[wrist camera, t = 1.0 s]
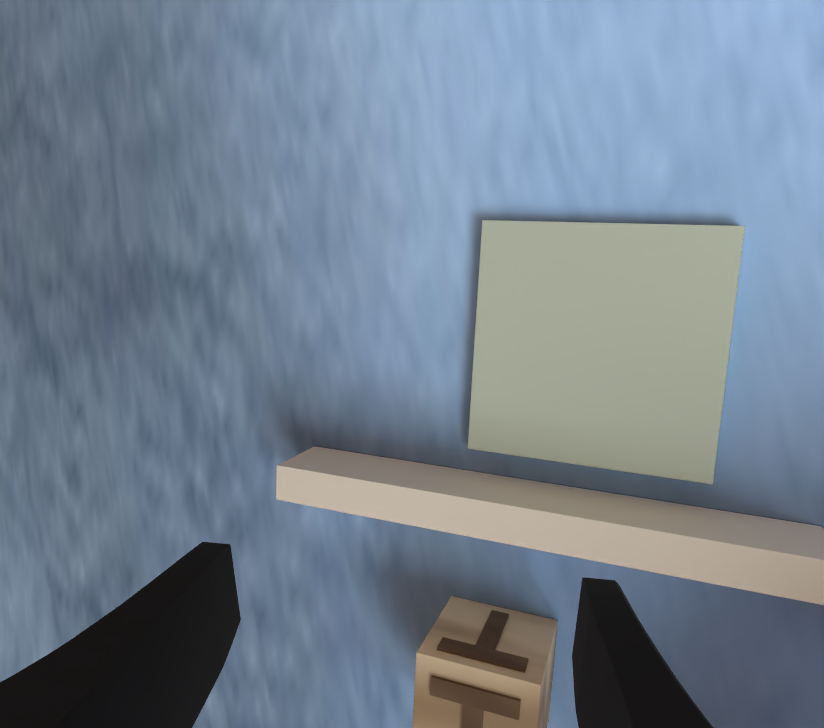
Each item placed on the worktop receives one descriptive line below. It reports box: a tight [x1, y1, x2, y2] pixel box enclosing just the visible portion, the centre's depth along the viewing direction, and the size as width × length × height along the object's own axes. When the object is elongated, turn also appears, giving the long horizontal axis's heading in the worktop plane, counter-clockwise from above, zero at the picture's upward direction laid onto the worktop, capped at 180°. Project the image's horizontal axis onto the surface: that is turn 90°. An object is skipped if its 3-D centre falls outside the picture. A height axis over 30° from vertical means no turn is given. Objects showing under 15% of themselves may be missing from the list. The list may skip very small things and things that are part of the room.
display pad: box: [468, 220, 745, 484], centre depth 26 cm, size 10×10×1 cm
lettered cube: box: [413, 596, 558, 728], centre depth 28 cm, size 5×5×5 cm
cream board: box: [276, 446, 824, 605], centre depth 27 cm, size 2×22×4 cm, turn 87°
